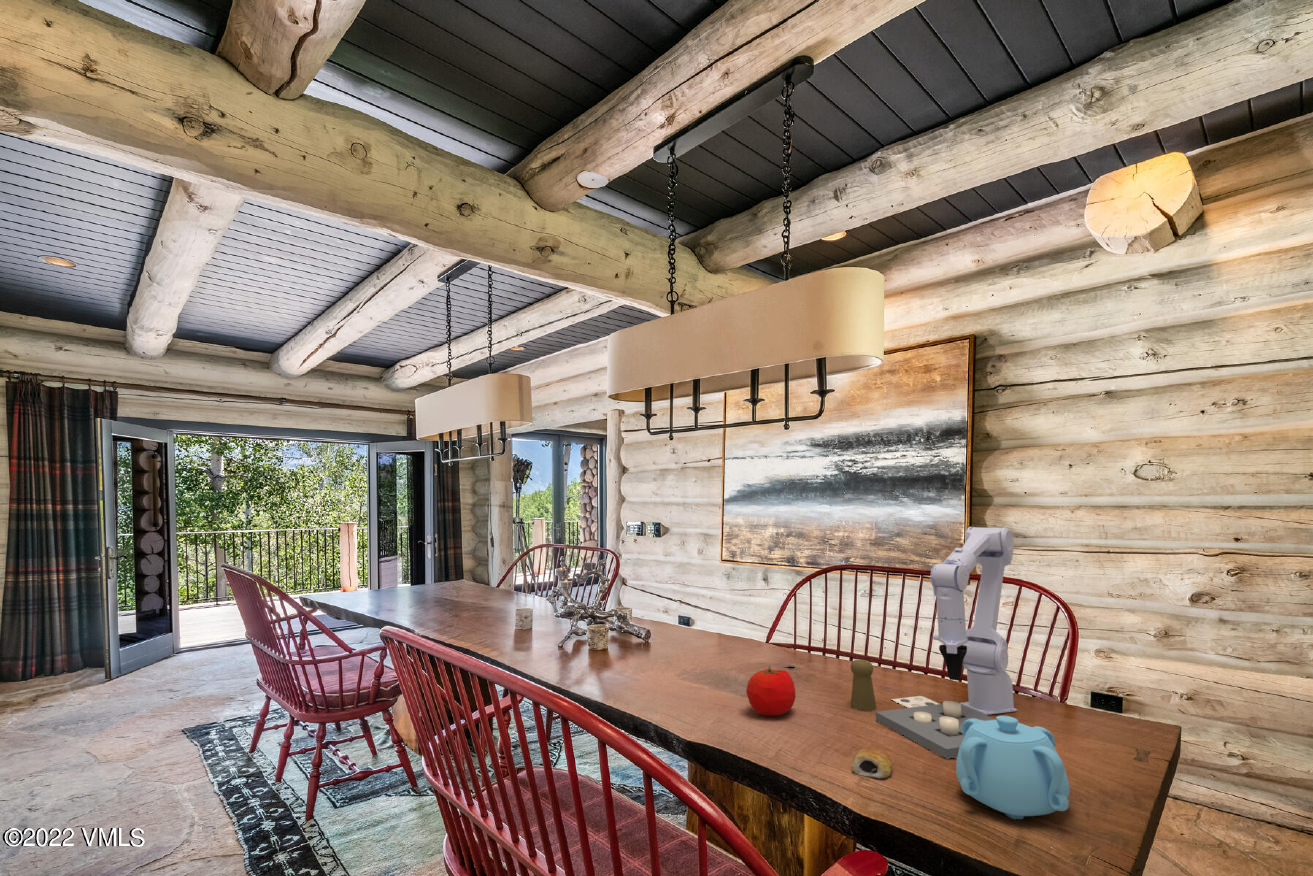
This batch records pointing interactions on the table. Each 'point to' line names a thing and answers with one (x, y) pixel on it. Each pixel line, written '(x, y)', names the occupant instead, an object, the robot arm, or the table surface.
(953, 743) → the board
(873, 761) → the pastry
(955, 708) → the button
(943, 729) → the button
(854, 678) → the olive pawn figure
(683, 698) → the table surface
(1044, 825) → the table surface
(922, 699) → the card
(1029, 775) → the decorative pot
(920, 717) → the button
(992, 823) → the table surface
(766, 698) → the tomato
